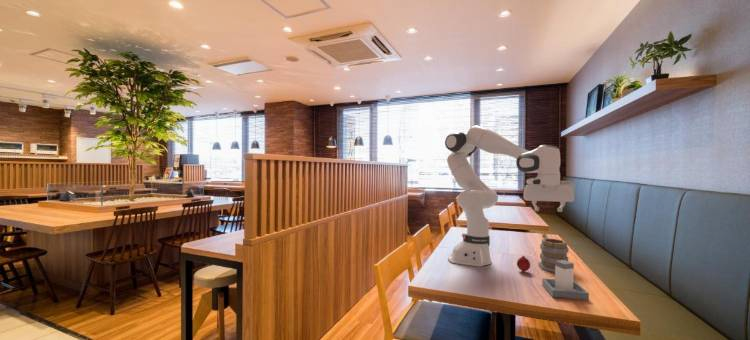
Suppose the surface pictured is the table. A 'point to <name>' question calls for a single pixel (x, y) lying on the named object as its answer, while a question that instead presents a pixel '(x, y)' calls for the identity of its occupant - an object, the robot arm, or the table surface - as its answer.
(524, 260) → the onion
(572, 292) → the walled box
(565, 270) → the plug
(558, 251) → the tankard
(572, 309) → the table surface
